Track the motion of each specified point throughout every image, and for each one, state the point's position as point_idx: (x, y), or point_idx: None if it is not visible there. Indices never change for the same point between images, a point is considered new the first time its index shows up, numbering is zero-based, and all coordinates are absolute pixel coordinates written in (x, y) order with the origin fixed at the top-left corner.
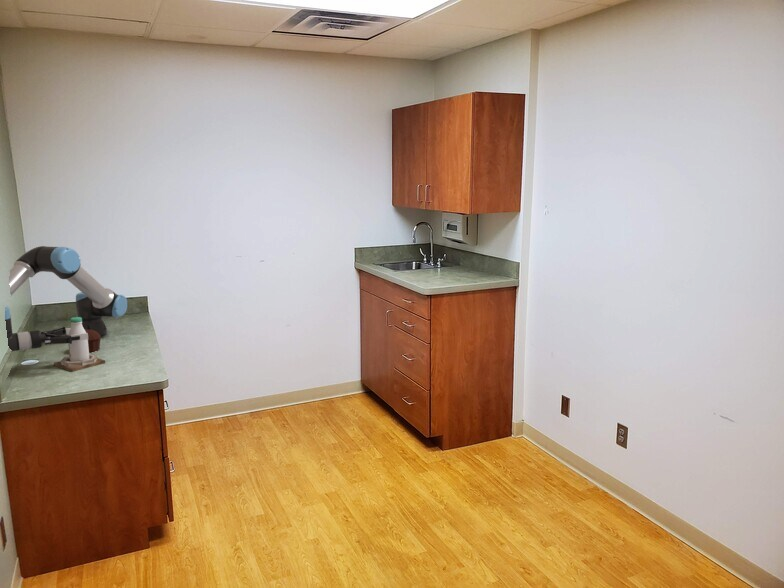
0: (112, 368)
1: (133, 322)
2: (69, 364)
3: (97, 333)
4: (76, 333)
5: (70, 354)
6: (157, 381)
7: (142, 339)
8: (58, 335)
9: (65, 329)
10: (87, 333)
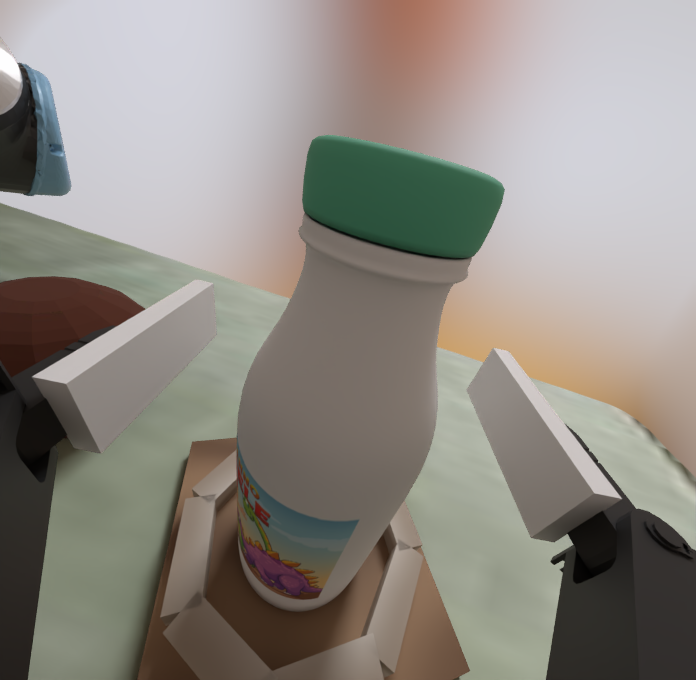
0: (464, 446)
1: None
2: (392, 662)
3: (123, 294)
4: (437, 399)
5: (324, 589)
6: (628, 417)
7: (192, 278)
8: (23, 640)
9: (3, 387)
10: (508, 354)
